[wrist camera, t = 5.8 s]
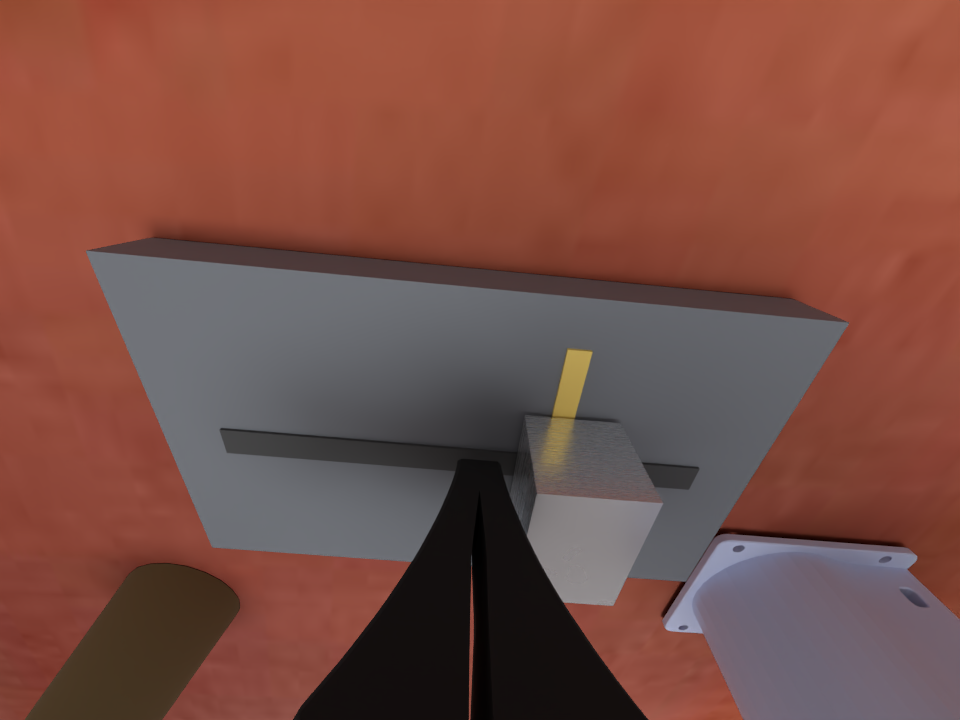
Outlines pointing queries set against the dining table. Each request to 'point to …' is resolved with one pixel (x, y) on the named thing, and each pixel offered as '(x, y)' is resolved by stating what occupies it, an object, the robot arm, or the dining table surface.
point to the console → (441, 387)
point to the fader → (583, 504)
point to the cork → (141, 647)
